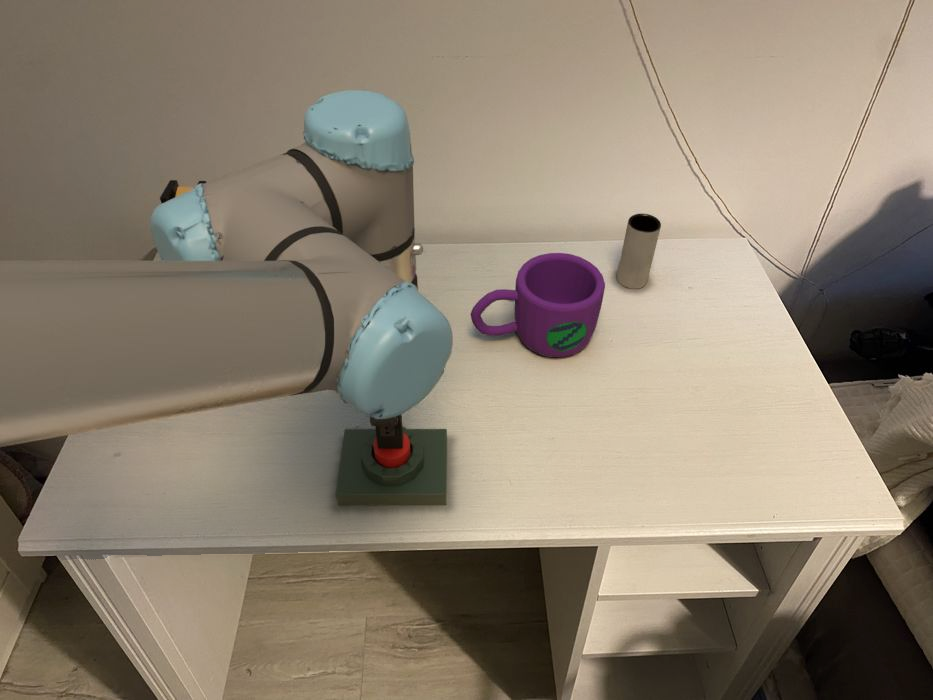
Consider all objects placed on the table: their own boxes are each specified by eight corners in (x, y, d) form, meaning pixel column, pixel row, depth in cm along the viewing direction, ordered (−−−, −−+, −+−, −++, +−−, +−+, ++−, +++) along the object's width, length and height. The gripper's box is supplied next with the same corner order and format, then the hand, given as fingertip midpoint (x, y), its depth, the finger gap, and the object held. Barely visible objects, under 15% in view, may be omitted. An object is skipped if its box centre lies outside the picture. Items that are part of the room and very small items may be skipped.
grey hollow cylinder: (613, 270, 108) (624, 214, 100) (642, 268, 108) (655, 212, 101) (621, 290, 105) (633, 233, 97) (650, 288, 105) (665, 231, 98)
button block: (337, 505, 79) (333, 485, 76) (346, 440, 85) (342, 419, 82) (446, 505, 79) (445, 484, 76) (447, 440, 85) (446, 419, 82)
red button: (373, 468, 78) (371, 458, 77) (376, 438, 81) (374, 429, 79) (409, 468, 78) (408, 458, 77) (411, 438, 81) (410, 429, 80)
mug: (581, 302, 103) (590, 246, 95) (606, 358, 95) (618, 302, 88) (462, 316, 100) (463, 260, 93) (478, 375, 92) (479, 319, 85)
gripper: (413, 328, 57) (423, 493, 73) (420, 230, 66) (426, 397, 82) (319, 328, 56) (350, 493, 73) (338, 230, 66) (362, 397, 82)
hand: (390, 442), depth 78 cm, fingers closed
